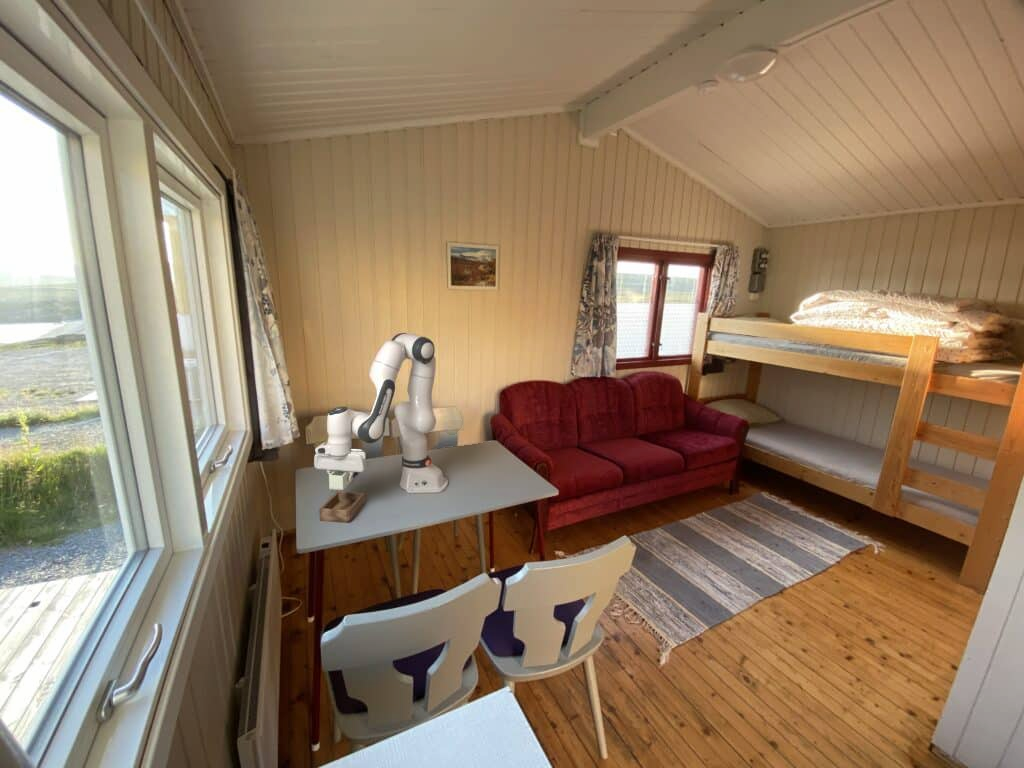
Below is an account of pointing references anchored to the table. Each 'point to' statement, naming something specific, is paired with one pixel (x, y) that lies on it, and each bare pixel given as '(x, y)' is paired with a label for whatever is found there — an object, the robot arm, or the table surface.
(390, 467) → the table surface
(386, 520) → the table surface
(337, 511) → the walnut crate
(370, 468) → the table surface
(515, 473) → the table surface
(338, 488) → the sage crate
